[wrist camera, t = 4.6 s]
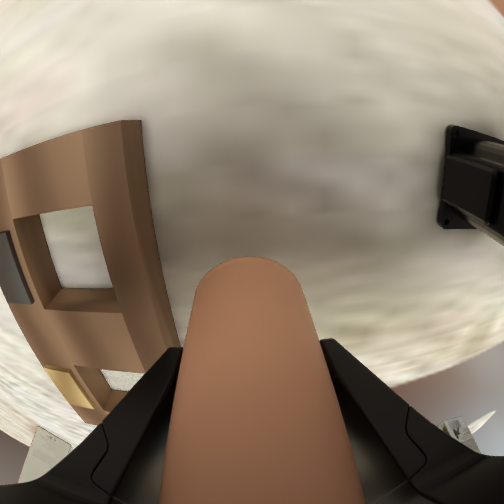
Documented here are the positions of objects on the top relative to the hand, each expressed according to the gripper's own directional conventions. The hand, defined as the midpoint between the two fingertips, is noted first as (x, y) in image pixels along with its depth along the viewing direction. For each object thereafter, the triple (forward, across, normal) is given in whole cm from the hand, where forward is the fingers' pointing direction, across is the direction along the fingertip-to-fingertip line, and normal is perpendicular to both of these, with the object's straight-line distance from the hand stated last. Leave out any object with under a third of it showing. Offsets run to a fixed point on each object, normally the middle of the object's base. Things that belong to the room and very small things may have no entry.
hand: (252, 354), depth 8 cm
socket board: (+8, +11, +5) cm, 14 cm away
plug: (+2, 0, 0) cm, 2 cm away
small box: (+8, +35, +34) cm, 49 cm away
